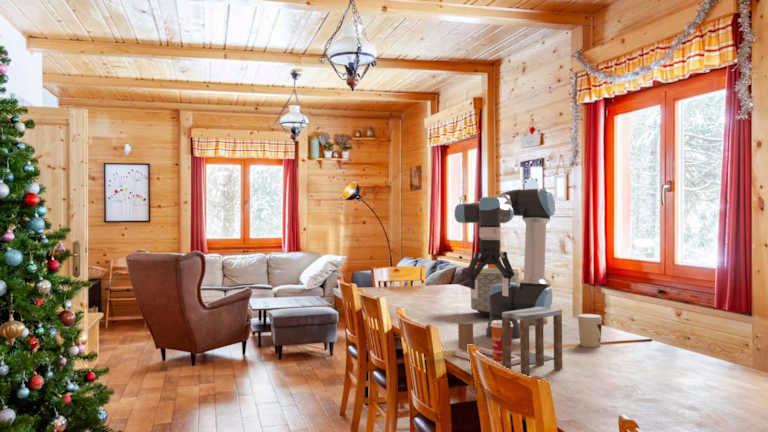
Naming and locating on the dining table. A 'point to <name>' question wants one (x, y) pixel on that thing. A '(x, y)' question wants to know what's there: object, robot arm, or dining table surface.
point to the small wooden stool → (524, 318)
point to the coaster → (534, 357)
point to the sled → (467, 338)
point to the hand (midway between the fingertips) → (490, 297)
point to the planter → (488, 288)
